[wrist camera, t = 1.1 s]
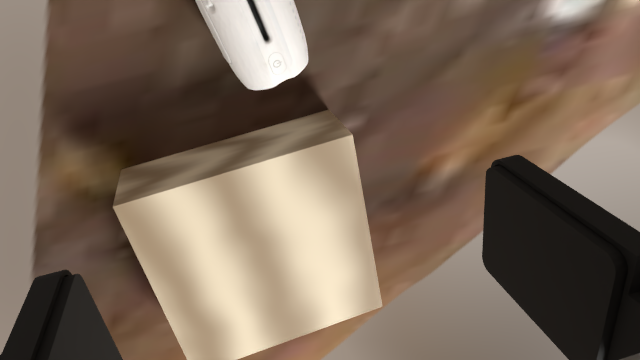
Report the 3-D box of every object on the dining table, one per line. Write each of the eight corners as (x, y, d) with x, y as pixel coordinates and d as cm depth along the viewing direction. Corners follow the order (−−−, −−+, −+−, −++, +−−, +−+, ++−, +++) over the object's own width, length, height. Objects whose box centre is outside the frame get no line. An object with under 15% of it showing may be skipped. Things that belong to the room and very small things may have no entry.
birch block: (327, 108, 37) (352, 134, 32) (358, 264, 45) (382, 306, 39) (121, 167, 34) (112, 206, 29) (191, 322, 42) (194, 374, 37)
